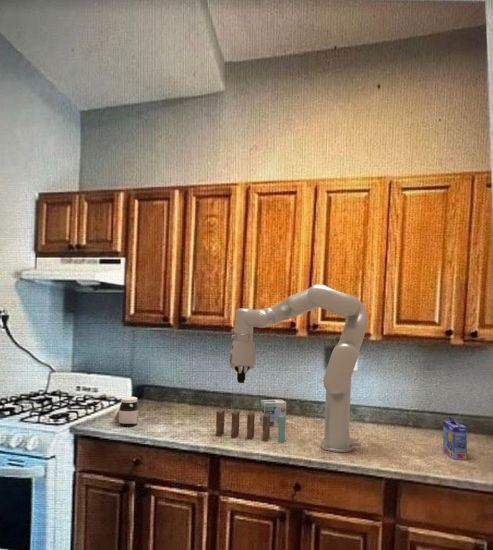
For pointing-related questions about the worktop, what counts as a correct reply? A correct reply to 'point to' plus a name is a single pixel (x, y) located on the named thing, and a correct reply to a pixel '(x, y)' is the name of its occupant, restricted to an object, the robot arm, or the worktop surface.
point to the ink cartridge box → (455, 439)
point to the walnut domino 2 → (235, 424)
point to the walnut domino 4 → (266, 427)
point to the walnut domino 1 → (220, 422)
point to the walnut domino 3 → (250, 425)
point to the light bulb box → (273, 411)
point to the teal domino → (281, 428)
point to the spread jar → (127, 412)
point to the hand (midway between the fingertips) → (240, 382)
